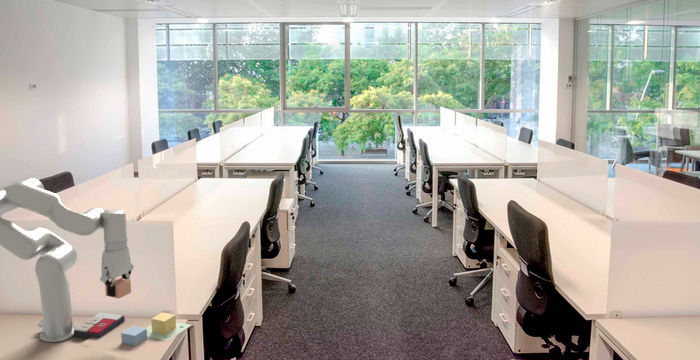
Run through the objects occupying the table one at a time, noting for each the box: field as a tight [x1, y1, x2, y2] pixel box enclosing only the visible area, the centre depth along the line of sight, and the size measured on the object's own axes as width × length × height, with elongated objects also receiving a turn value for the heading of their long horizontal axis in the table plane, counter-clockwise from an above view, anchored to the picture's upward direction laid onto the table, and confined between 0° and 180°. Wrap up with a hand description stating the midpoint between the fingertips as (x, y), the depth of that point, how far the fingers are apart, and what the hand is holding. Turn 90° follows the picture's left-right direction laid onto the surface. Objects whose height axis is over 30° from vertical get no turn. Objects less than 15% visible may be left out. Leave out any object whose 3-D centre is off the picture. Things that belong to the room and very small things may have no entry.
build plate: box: [144, 321, 192, 342], centre depth 220 cm, size 14×14×1 cm
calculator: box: [74, 312, 126, 340], centre depth 222 cm, size 11×4×15 cm
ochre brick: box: [150, 312, 177, 334], centre depth 220 cm, size 6×6×5 cm
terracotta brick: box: [104, 276, 132, 299], centre depth 215 cm, size 6×6×5 cm
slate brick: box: [120, 325, 148, 347], centre depth 212 cm, size 6×6×5 cm
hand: (118, 292), depth 216 cm, fingers closed on terracotta brick, 6 cm apart
